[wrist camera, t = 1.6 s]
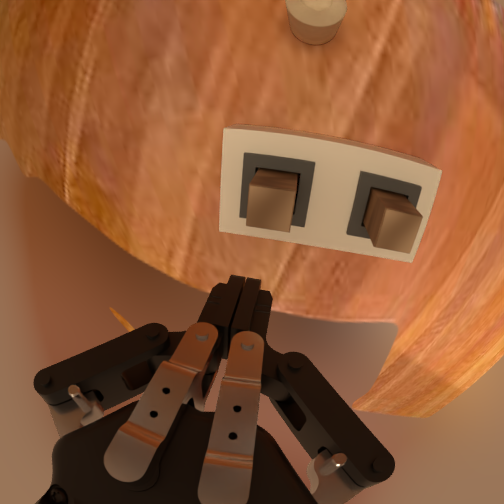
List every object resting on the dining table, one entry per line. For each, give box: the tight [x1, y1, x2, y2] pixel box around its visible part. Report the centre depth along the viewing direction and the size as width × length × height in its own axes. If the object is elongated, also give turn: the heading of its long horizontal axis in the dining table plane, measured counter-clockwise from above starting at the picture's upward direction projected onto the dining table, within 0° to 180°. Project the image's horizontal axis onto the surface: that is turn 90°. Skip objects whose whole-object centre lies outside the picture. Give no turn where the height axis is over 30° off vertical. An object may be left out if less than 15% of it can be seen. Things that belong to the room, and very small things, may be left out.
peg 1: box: [246, 168, 298, 233], centre depth 26 cm, size 4×4×7 cm
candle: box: [286, 0, 347, 45], centre depth 19 cm, size 6×6×10 cm
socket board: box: [219, 124, 442, 263], centre depth 30 cm, size 24×12×7 cm, turn 85°
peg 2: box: [362, 187, 423, 254], centre depth 25 cm, size 4×4×7 cm
